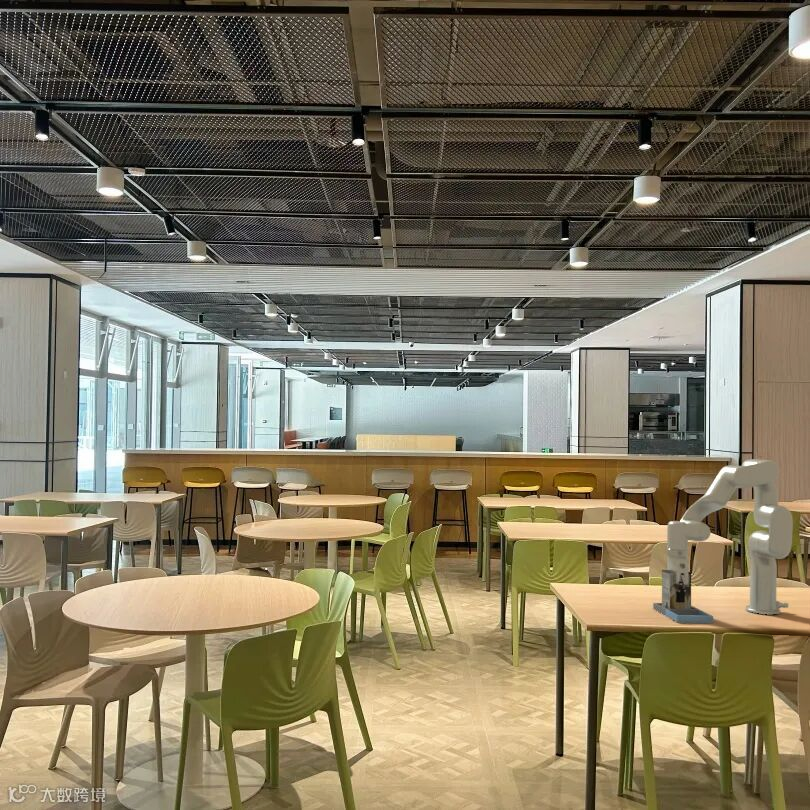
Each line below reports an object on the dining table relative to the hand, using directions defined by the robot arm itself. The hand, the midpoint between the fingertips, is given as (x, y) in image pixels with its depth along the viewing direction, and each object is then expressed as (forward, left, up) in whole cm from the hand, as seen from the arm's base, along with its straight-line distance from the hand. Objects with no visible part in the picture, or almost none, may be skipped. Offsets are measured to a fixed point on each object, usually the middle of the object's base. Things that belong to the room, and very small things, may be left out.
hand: (676, 599), depth 306 cm
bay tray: (0, +5, -5) cm, 7 cm away
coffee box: (0, 0, -5) cm, 5 cm away
